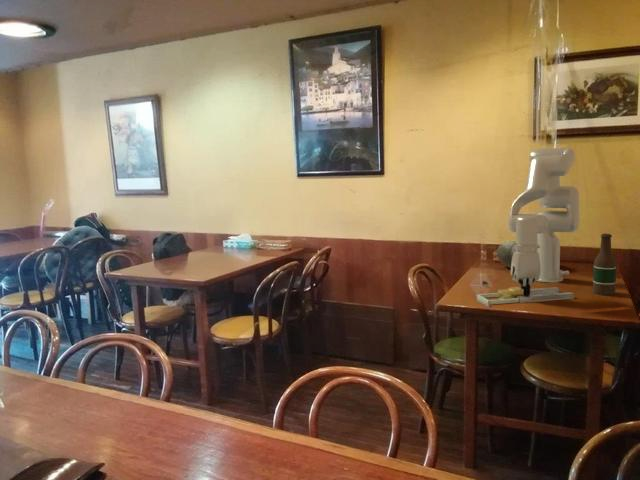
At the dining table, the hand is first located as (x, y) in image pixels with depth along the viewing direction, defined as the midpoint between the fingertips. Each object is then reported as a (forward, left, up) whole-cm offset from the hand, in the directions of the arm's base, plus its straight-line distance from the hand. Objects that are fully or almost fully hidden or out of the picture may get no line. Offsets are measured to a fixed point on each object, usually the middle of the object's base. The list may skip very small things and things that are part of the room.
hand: (525, 295), depth 188 cm
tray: (+12, 0, -2) cm, 12 cm away
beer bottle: (-35, -1, -2) cm, 35 cm away
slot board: (-6, 0, -2) cm, 6 cm away
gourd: (-34, -58, -2) cm, 67 cm away
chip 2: (+4, 0, -1) cm, 4 cm away
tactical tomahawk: (+3, -22, -3) cm, 22 cm away
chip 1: (+8, 0, -2) cm, 8 cm away
